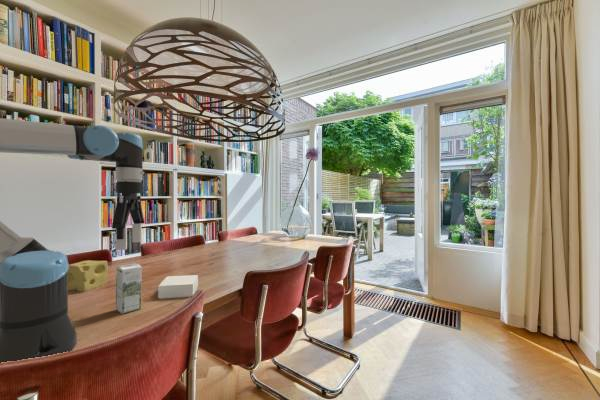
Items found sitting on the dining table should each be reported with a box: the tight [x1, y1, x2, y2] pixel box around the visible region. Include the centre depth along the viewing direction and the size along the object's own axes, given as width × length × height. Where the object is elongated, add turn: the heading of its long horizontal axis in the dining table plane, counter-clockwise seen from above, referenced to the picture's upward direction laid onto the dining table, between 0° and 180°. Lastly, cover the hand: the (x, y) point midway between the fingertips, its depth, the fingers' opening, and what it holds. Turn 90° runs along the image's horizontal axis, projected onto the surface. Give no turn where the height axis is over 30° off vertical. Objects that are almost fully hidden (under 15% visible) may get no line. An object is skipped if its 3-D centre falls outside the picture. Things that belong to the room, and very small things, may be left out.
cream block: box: [157, 274, 199, 299], centre depth 106 cm, size 12×12×5 cm
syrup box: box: [115, 263, 143, 315], centre depth 89 cm, size 6×6×14 cm
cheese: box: [68, 259, 109, 293], centre depth 110 cm, size 10×11×10 cm
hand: (129, 245), depth 89 cm, fingers open, 13 cm apart
